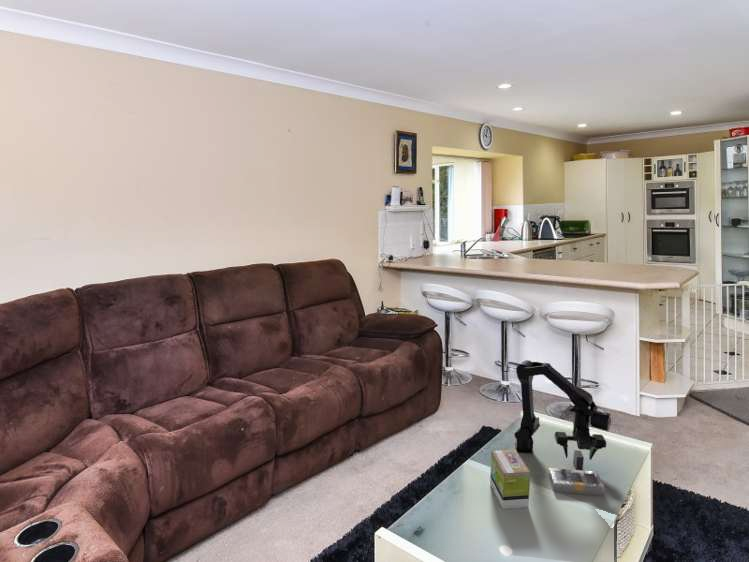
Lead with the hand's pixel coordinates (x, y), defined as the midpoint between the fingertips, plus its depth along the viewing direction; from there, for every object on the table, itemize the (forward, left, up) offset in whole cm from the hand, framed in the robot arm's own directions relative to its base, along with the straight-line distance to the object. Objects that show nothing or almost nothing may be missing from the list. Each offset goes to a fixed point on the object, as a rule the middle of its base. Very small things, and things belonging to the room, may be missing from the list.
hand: (578, 458), depth 204 cm
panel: (0, 0, -4) cm, 4 cm away
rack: (-4, -13, -4) cm, 14 cm away
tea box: (-30, -23, -4) cm, 38 cm away
